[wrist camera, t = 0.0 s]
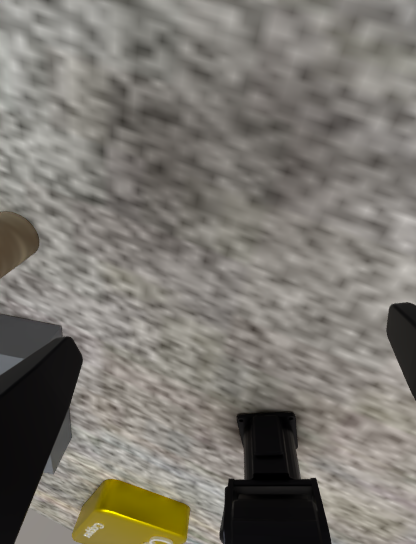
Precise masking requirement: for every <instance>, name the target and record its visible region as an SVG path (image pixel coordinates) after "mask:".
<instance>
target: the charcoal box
mask: <svg viewBox="0 0 416 544" xmlns="http://www.w3.org/2000/svg"><path fill="white" fill-rule="evenodd" d="M58 337H62V329H61V326H58V325H53V324H48V323H43V322H38V321H33V320H28V319H23V318H18V317H13V316H8V315H3V314H0V375H1V374H3V373H4V372H6V371H7V370H9V369H10V368H12V367H13V366H15V365H16V364H18V363H19V362H21V361H22V360H24V359H25V358H27V357H28V356H30V355H31V354H33V353H34V352H36V351H37V350H39V349H40V348H42V347H43V346H45V345H46V344H48V343H49V342H51V341H52V340H54V339H55V338H58ZM71 438H72V434H71V424H70V413H69V409H68V412H67V414H66V417H65V420H64V422H63V425H62V427H61V430H60V432H59V434H58V437H57V439H56V442H55V444H54V447H53V449H52V452H51V454H50V457H49V459H48V462H47V464H46V466H45V469H44V471H43V472H44V473H49V474H54V473H55V471H56V469H57V466H58V464H59V462H60V460H61V458H62V456H63V454H64V452H65V450H66V448H67V446H68V444H69V442H70V440H71Z"/></svg>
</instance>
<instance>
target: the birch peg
mask: <svg viewBox="0 0 416 544" xmlns="http://www.w3.org/2000/svg"><path fill="white" fill-rule="evenodd" d="M38 247H39V237H38V234H37V232H36V230H35V228H34V227H33V226H32V225H31V223H30V222H29V221H28V220H26V219H25V218H24V217H22V216H20V215H18V214H16V213H13V212H0V278H2V277H3V276H4V275H6V274H7V273H8V272H10V271H11V270H12V269H14V268H15V267H16V266H18V265H19V264H20V263H22V262H23V261H24V260H26V259H27V258H29V257H30V256H31V255H33V254H34V253H35V252H36V251H37V249H38Z"/></svg>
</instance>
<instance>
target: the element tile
mask: <svg viewBox="0 0 416 544" xmlns="http://www.w3.org/2000/svg"><path fill="white" fill-rule="evenodd" d="M189 515H190V508H189V506H187V505H186V504H184V503H181V502H178V501H175V500H173V499H170V498H167V497H164V496H161V495H159V494H156V493H153V492H150V491H148V490H145V489H142V488H139V487H137V486H134V485H131V484H128V483H125V482H123V481H120V480H115V479H108V480H105V481H104V482H103V483H102V484H101V485H100V486H99V487H98V489H97V490H96V491H95V492H94V493H93V495H92V496H91V497H90V498H89V499H88V500H87V502H86V503H85V504H84V505H83V507H82V509H81V512H80V514H79V517H78V520H77V522H76V525H75V527H74V530H73V533H72V537H73V540H74V541H76V542H79V543H82V544H183V543H185V542H186V540H187V532H188V523H189Z"/></svg>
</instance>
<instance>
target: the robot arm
mask: <svg viewBox="0 0 416 544" xmlns="http://www.w3.org/2000/svg"><path fill="white" fill-rule="evenodd" d="M386 331H387V336H388V339H389V341H390V344H391V346H392V349H393V351H394V353H395V356H396V358H397V360H398V363H399V365H400V367H401V370H402V372H403V374H404V377H405V379H406V381H407V384H408V386H409V388H410V390H411V393H412V395H413V396H414V398H415V400H416V305H414V304H412V303H408V302H406V303H396V304H392V305H391V306H390V308H389V313H388V320H387V329H386ZM82 362H83V358H82V354H81V353H80V351H79V349H78V347H77V345H76V344H75V342H74V340H73V339H72V338H71V337H68V336H67V337H58V338H55V339H54V340H52V341H51V342H49V343H48V344H46V345H45V346H43V347H42V348H40V349H39V350H37V351H36V352H34V353H33V354H31V355H30V356H28V357H27V358H25V359H24V360H22V361H21V362H19V363H18V364H16V365H15V366H13V367H12V368H10V369H9V370H7V371H6V372H4V373H3V374H1V375H0V544H14V543H15V540H16V538H17V536H18V533H19V530H20V528H21V526H22V523H23V521H24V518H25V516H26V513H27V511H28V508H29V506H30V503H31V501H32V499H33V496H34V494H35V491H36V489H37V486H38V484H39V481H40V479H41V476H42V474H43V471H44V469H45V466H46V464H47V462H48V459H49V457H50V454H51V452H52V449H53V447H54V444H55V442H56V439H57V437H58V434H59V432H60V430H61V427H62V425H63V422H64V420H65V417H66V414H67V412H68V409H69V406H70V403H71V399H72V396H73V393H74V389H75V386H76V383H77V379H78V376H79V373H80V369H81V366H82ZM237 423H238V427H239V432H240V436H241V440H242V444H243V448H244V480H234V479H229V481H228V486H227V487H226V488H225V505H224V512H223V517H222V522H221V528H220V540H221V542H222V543H223V544H331V538H330V533H329V529H328V524H327V520H326V516H325V512H324V508H323V504H322V500H321V496H320V492H319V488H318V484H317V480H316V478H310V479H301V476H300V470H299V465H298V459H297V453H296V449H297V448H298V443H297V430H296V418H295V414H294V413H268V414H245V415H238V416H237Z"/></svg>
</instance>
